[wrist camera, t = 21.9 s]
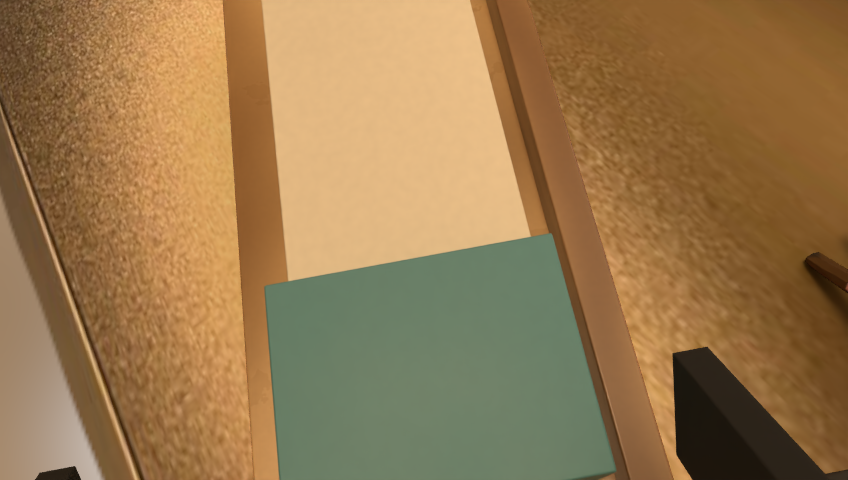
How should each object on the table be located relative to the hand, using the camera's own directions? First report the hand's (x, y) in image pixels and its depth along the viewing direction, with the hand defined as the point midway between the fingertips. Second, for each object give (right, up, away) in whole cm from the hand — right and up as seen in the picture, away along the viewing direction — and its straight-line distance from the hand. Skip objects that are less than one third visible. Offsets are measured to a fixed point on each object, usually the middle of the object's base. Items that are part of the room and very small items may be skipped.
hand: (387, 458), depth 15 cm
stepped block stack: (0, +5, +13) cm, 14 cm away
